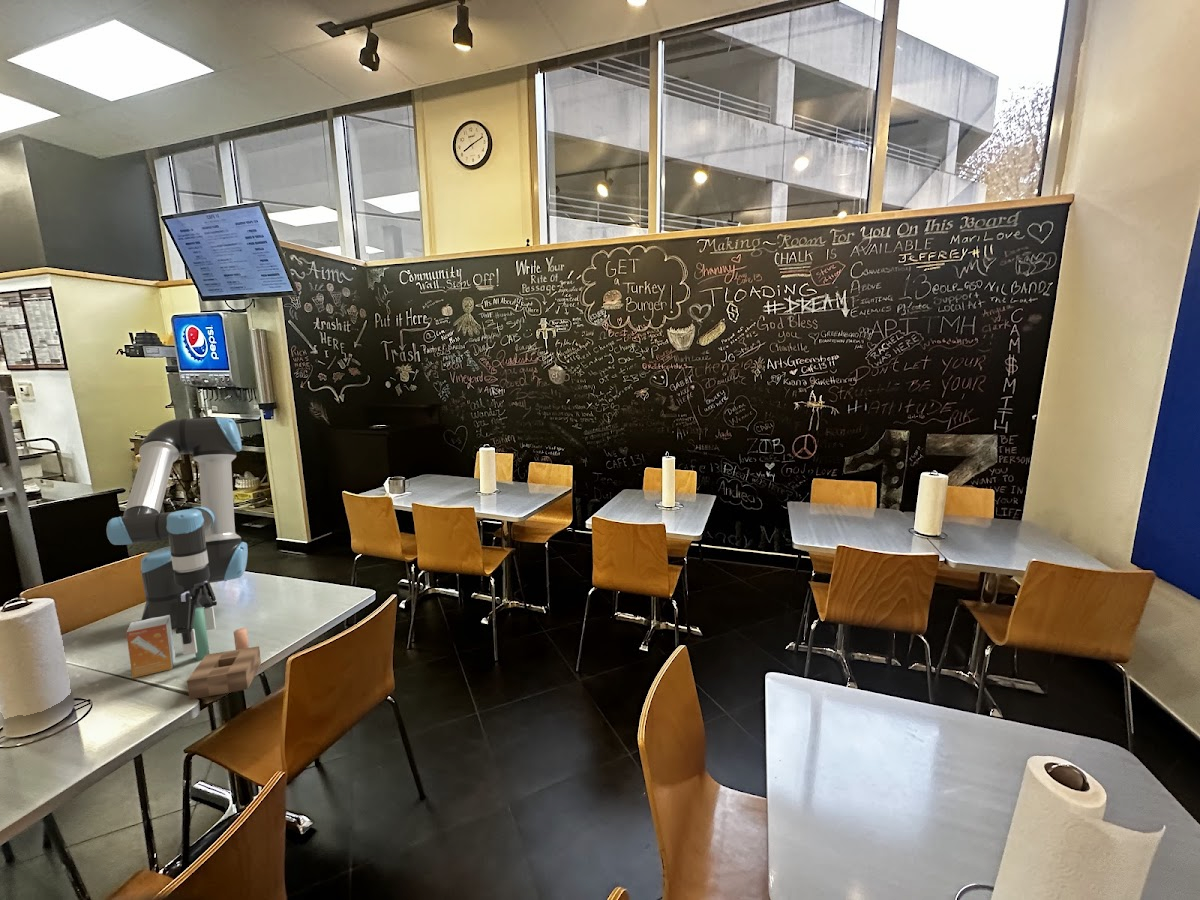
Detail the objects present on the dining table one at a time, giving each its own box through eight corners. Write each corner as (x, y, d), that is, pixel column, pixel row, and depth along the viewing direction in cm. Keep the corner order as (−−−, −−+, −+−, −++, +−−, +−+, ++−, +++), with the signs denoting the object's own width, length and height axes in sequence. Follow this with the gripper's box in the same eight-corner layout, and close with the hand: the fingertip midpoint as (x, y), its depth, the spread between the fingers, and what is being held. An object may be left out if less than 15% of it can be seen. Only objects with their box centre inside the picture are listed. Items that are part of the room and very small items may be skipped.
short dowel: (238, 652, 143) (235, 629, 142) (250, 650, 144) (248, 627, 143) (234, 658, 140) (232, 634, 139) (247, 655, 141) (244, 632, 140)
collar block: (208, 672, 134) (205, 654, 133) (260, 663, 138) (259, 646, 137) (189, 699, 123) (186, 680, 122) (247, 689, 127) (245, 670, 126)
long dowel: (198, 655, 142) (192, 608, 139) (211, 653, 143) (205, 606, 140) (194, 661, 139) (187, 613, 137) (207, 659, 140) (201, 611, 138)
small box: (132, 679, 131) (125, 632, 129) (137, 667, 136) (130, 621, 134) (172, 669, 135) (166, 623, 133) (176, 658, 140) (170, 613, 138)
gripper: (192, 553, 147) (201, 622, 150) (151, 587, 124) (163, 667, 127) (223, 550, 149) (231, 618, 153) (189, 583, 126) (199, 662, 130)
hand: (200, 640), depth 140 cm, fingers open, 13 cm apart
